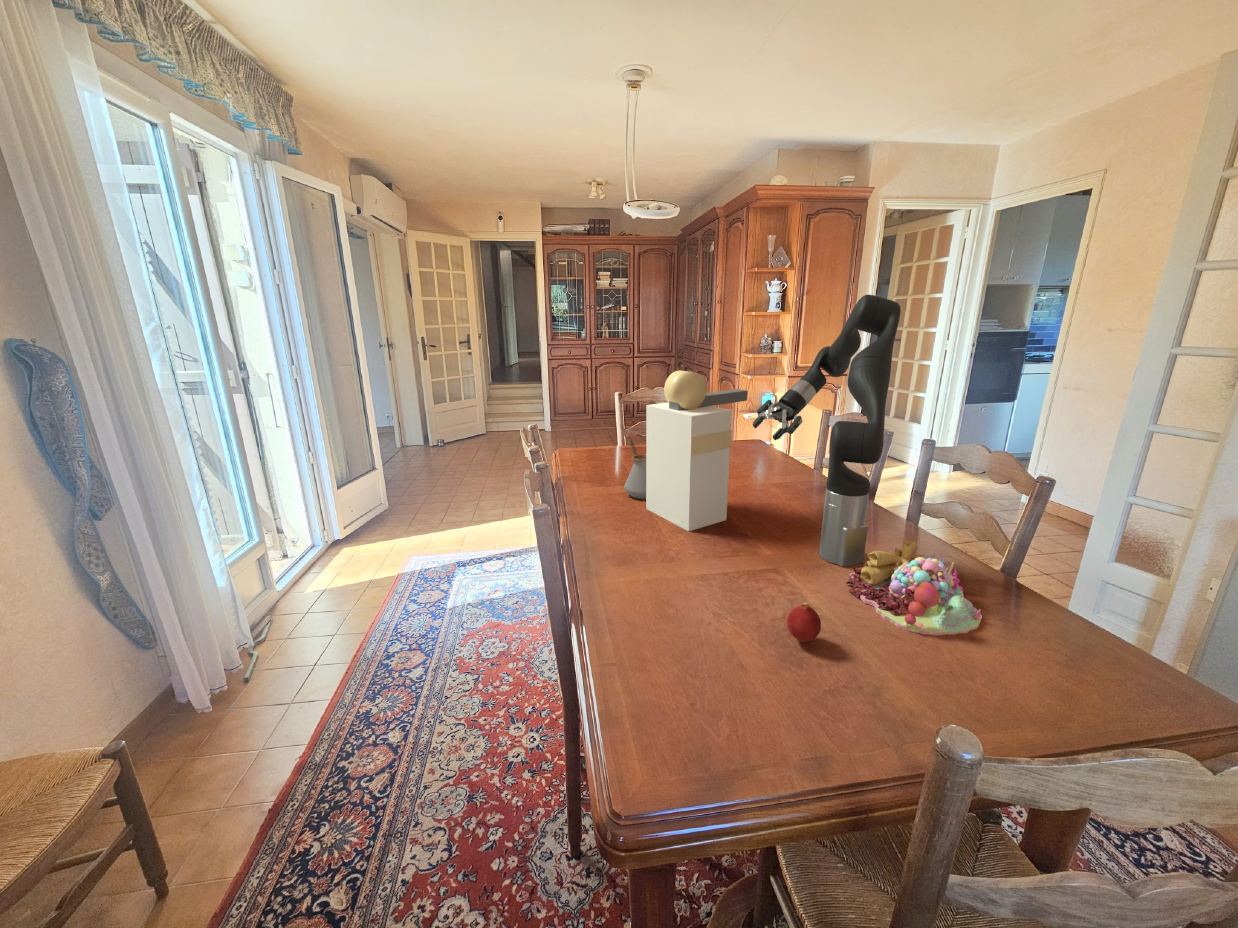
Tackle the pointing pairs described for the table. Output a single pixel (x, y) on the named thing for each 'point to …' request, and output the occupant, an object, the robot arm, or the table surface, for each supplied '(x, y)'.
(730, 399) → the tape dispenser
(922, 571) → the candy landscape model
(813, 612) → the onion
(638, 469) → the coffee pot
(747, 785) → the table surface
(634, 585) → the table surface
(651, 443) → the tall box
